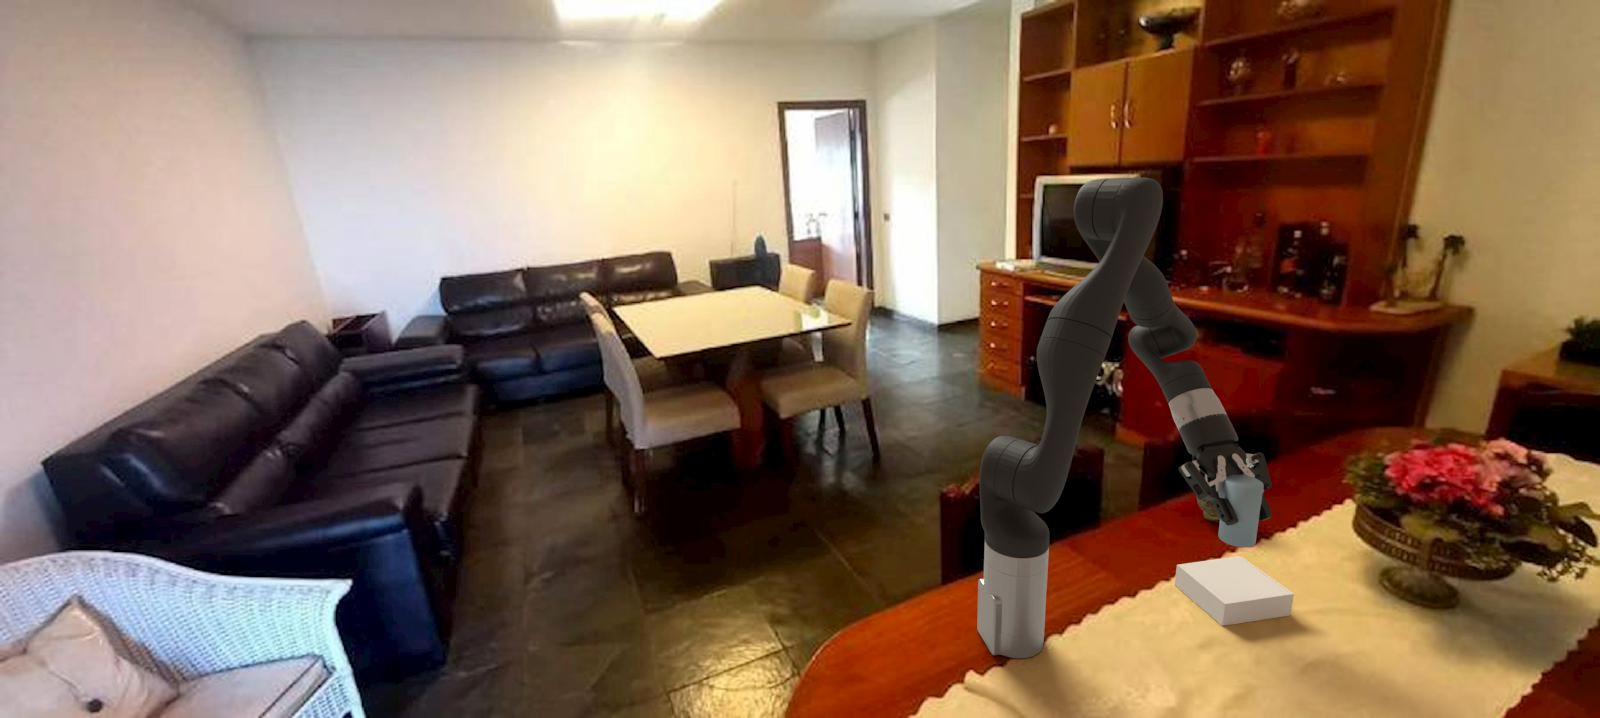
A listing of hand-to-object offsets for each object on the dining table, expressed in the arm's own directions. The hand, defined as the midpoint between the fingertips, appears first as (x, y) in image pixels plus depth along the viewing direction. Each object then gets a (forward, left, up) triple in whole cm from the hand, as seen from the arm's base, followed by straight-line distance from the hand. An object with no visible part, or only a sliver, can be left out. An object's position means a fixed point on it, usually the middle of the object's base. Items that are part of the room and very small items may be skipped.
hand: (1249, 521), depth 103 cm
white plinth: (+2, +3, -17) cm, 17 cm away
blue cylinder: (0, +2, -4) cm, 5 cm away
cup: (+18, +27, -17) cm, 36 cm away
